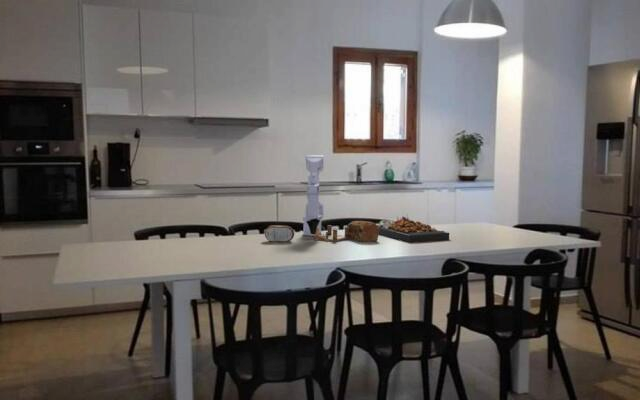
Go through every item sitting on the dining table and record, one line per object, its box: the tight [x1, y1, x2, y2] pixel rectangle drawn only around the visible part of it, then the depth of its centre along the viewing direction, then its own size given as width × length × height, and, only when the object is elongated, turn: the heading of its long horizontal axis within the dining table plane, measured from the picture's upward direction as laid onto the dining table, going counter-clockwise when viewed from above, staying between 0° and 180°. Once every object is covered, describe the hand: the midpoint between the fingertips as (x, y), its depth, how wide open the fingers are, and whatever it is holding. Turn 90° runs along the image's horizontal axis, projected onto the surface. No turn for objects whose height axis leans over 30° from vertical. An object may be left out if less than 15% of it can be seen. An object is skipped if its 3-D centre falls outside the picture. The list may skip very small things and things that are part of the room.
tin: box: [264, 224, 295, 243], centre depth 281 cm, size 15×3×8 cm, turn 84°
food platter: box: [374, 214, 450, 244], centre depth 304 cm, size 45×25×10 cm, turn 23°
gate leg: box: [314, 227, 326, 238], centre depth 287 cm, size 6×2×5 cm, turn 60°
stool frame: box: [313, 224, 352, 243], centre depth 290 cm, size 14×14×6 cm
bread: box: [346, 220, 379, 243], centre depth 290 cm, size 19×11×10 cm, turn 21°
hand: (313, 233), depth 285 cm, fingers closed
